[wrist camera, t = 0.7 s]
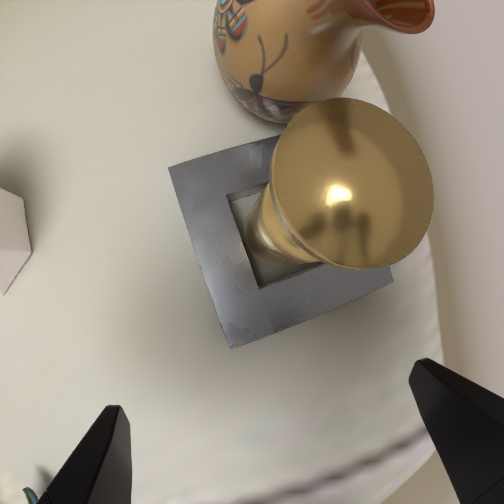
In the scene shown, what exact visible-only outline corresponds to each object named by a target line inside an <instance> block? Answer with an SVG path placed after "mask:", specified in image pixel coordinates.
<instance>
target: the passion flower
mask: <svg viewBox="0 0 504 504" xmlns="http://www.w3.org/2000/svg"><path fill="white" fill-rule="evenodd" d="M22 490H23V491H24V493H25V495H26V498H27V500H28V504H36V503H37V502H38V498H37V496H36V494H35V492H34V491H33V490H32V489H31V488H29V487H26V488H24V489H22Z"/></svg>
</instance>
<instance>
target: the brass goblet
mask: <svg viewBox="0 0 504 504" xmlns="http://www.w3.org/2000/svg"><path fill="white" fill-rule="evenodd" d="M432 210H433V184H432V178H431V174H430V170H429V167H428V164H427V161H426V159H425V157H424V154H423V153H422V150H421V149H420V147H419V145H418V144H417V142H416V140H415V139H414V138H413V137H412V135H411V134H410V132H409V131H408V130H407V129H406V128H405V127H404V126H403V125H402V124H401V123H400V122H399V121H398V120H397V119H395V118H394V117H393V116H391V115H390V114H389V113H387V112H386V111H384V110H382V109H381V108H379V107H377V106H375V105H372V104H370V103H367V102H364V101H361V100H357V99H351V98H329V99H325V100H321V101H318V102H315V103H313V104H311V105H309V106H307V107H306V108H304V109H302V110H301V111H300V112H299V113H298V114H296V115H295V116H294V117H293V118H292V120H291V121H290V122H289V123H288V125H287V126H286V128H285V130H284V131H283V133H282V135H281V137H280V139H279V140H278V142H277V144H276V147H275V149H274V151H273V154H272V158H271V162H270V169H269V183H268V184H267V186H266V187H265V189H264V191H263V192H262V194H261V195H260V197H259V198H258V200H257V202H256V203H255V205H254V206H253V208H252V210H251V211H250V213H249V215H248V217H247V219H246V222H245V239H246V243H247V245H248V247H249V249H250V251H251V252H252V253H253V255H254V256H255V257H256V258H257V259H259V260H260V261H262V262H263V263H265V264H268V265H271V266H275V267H285V266H292V265H299V264H305V263H312V262H318V261H321V262H323V263H326V264H328V265H330V266H334V267H338V268H341V269H350V270H360V269H376V268H381V267H386V266H389V265H391V264H394V263H396V262H398V261H400V260H402V259H403V258H405V257H406V256H407V255H409V254H410V253H411V252H412V251H413V250H414V249H415V248H416V247H417V246H418V244H419V243H420V241H421V240H422V238H423V237H424V235H425V233H426V231H427V229H428V226H429V223H430V220H431V215H432Z"/></svg>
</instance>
